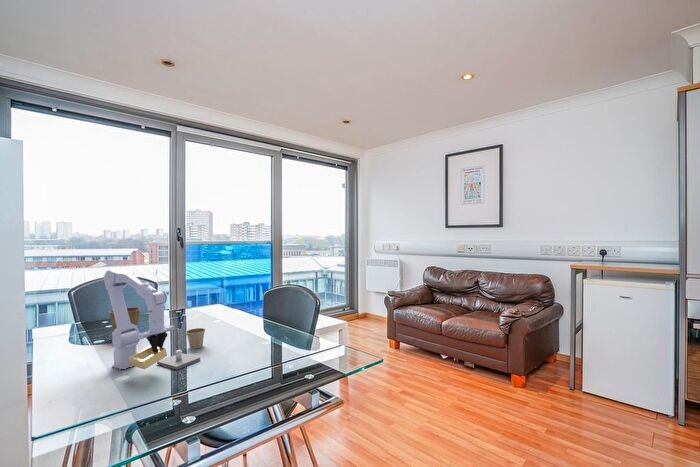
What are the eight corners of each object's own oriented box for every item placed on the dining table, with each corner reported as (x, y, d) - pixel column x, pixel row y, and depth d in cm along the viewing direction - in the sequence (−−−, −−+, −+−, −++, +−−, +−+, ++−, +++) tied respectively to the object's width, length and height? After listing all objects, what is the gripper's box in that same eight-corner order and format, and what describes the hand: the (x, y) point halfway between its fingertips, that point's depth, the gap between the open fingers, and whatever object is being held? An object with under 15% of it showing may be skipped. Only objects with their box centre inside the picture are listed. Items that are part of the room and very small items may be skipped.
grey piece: (157, 364, 157) (156, 352, 157) (181, 356, 167) (180, 344, 167) (176, 370, 150) (176, 357, 150) (200, 360, 160) (199, 349, 160)
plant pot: (129, 341, 192) (129, 312, 192) (103, 341, 192) (102, 313, 192) (146, 333, 207) (145, 306, 207) (121, 333, 207) (121, 307, 207)
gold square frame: (130, 365, 144) (128, 357, 143) (153, 352, 152) (151, 345, 151) (144, 369, 139) (142, 361, 138) (167, 355, 147) (165, 348, 147)
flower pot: (184, 351, 174) (184, 334, 174) (187, 345, 183) (187, 329, 183) (204, 349, 177) (204, 332, 177) (206, 343, 186) (206, 327, 186)
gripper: (145, 325, 140) (145, 358, 140) (177, 316, 153) (178, 347, 153) (135, 323, 144) (136, 355, 144) (168, 315, 156) (168, 345, 157)
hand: (157, 351), depth 149 cm, fingers closed on gold square frame
